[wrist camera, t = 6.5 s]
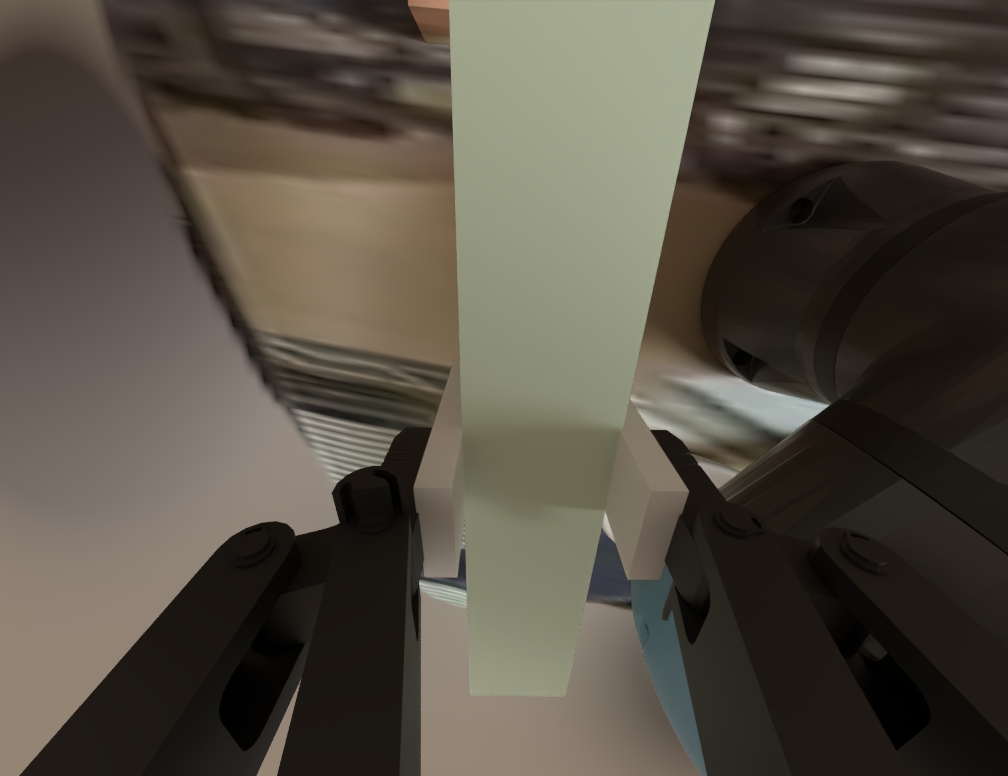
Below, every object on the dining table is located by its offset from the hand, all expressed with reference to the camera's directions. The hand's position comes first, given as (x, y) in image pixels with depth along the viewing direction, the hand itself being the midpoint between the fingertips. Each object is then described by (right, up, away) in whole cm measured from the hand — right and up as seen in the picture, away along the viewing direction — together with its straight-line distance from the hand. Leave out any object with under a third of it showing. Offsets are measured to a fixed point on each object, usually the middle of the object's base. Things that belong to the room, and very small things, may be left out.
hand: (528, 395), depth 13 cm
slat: (0, 0, +1) cm, 1 cm away
